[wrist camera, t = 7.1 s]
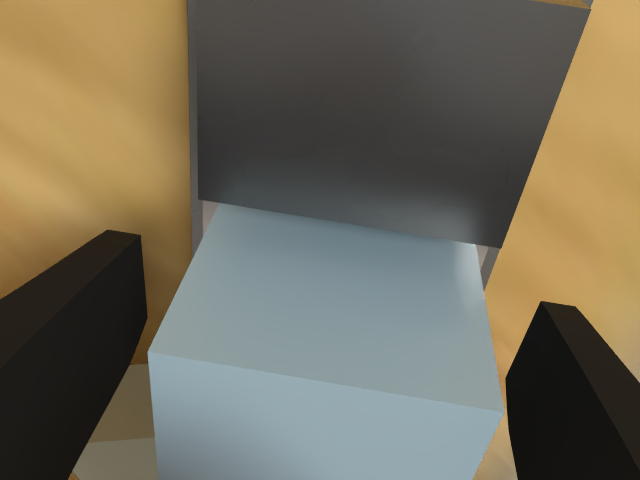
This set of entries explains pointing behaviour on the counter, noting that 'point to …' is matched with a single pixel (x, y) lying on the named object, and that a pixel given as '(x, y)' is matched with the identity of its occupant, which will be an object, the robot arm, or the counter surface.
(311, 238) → the block
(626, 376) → the robot arm
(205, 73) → the rail base
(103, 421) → the block
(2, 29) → the counter surface
